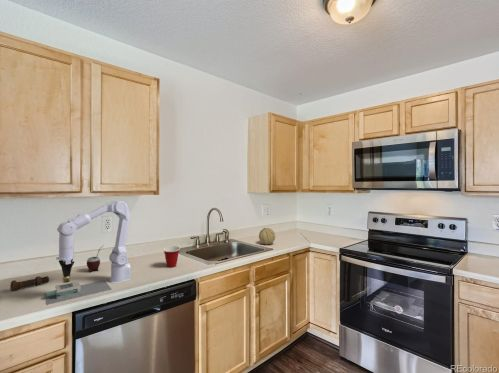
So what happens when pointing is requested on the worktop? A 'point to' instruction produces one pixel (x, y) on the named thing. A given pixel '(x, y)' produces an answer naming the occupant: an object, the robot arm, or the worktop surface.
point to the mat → (85, 290)
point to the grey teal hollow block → (66, 290)
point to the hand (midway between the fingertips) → (66, 275)
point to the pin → (66, 278)
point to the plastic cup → (171, 255)
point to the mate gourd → (93, 263)
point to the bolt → (28, 283)
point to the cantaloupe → (267, 236)
